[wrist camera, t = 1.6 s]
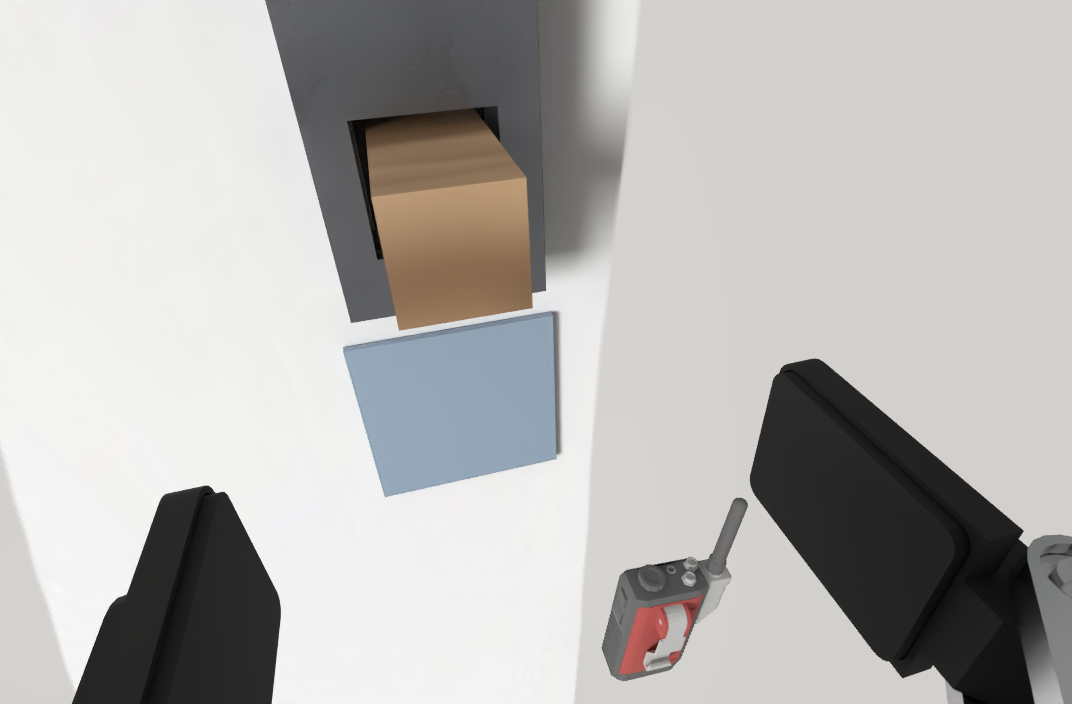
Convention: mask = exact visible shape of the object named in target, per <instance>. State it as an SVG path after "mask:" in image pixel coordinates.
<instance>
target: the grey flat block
mask: <svg viewBox="0 0 1072 704" xmlns="http://www.w3.org/2000/svg"><path fill="white" fill-rule="evenodd" d="M265 1H266V5H267V9H268V12H269V16H270V20H271V24H272V27H273V31H274V35H275V39H276V42H277V46H278V50H279V54H280V57H281V61H282V65H283V69H284V72H285V76H286V80H287V84H288V87H289V91H290V95H291V99H292V102H293V106H294V110H295V114H296V117H297V121H298V125H299V129H300V132H301V136H302V140H303V144H304V147H305V151H306V155H307V159H308V162H309V166H310V170H311V174H312V177H313V181H314V185H315V189H316V192H317V196H318V200H319V204H320V207H321V211H322V215H323V219H324V222H325V226H326V230H327V234H328V237H329V241H330V245H331V249H332V252H333V256H334V260H335V264H336V267H337V271H338V275H339V279H340V282H341V286H342V290H343V294H344V297H345V301H346V305H347V309H348V312H349V316H350V320H351V323H354V322H360V321H366V320H372V319H378V318H384V317H390V316H396V313H395V308H394V304H393V299H392V294H391V289H390V285H389V280H388V275H387V270H386V266H385V261H384V256H383V251H382V247H381V242H380V237H379V232H378V229H375V228H374V224H373V219H372V214H371V210H370V205H369V200H368V196H367V191H366V186H365V182H364V177H363V172H362V168H361V163H360V158H359V154H358V149H357V144H356V140H355V135H354V130H353V126H352V121H351V120H361V119H371V118H380V117H390V116H400V115H410V114H420V113H430V112H440V111H450V110H459V109H469V108H479V107H483V109H484V121H485V124H486V125H487V126H488V128H489V129H490V130H491V132H492V133H493V134H494V136H495V137H496V138H497V140H498V141H499V142H500V143H501V145H502V146H503V147H504V149H505V150H506V151H507V153H508V154H509V155H510V157H511V158H512V159H513V161H514V162H515V163H516V165H517V166H518V167H519V168H520V170H521V171H522V172H523V174H524V175H525V176H526V180H527V201H528V222H529V243H530V264H531V285H532V293H535V292H541V291H546V273H545V241H544V209H543V176H542V144H541V112H540V79H539V47H538V15H537V0H265Z"/></svg>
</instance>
